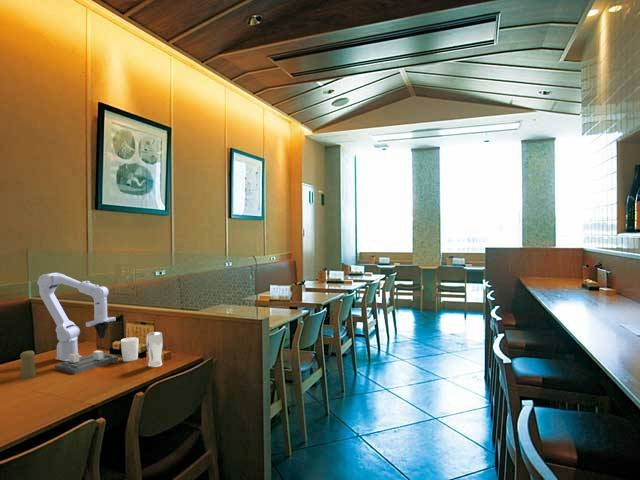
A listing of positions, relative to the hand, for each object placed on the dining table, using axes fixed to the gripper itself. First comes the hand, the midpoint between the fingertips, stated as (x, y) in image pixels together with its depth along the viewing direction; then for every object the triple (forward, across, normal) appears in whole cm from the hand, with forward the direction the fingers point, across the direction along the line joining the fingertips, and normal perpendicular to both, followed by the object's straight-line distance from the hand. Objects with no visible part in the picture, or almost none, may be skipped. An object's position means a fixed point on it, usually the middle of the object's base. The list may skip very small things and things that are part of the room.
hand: (101, 337), depth 201 cm
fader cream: (+8, -14, -1) cm, 16 cm away
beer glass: (+10, +3, -35) cm, 37 cm away
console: (+10, -10, -4) cm, 15 cm away
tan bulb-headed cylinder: (+10, -31, +5) cm, 33 cm away
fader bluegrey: (+8, -7, -7) cm, 13 cm away
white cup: (+10, +4, -16) cm, 19 cm away
